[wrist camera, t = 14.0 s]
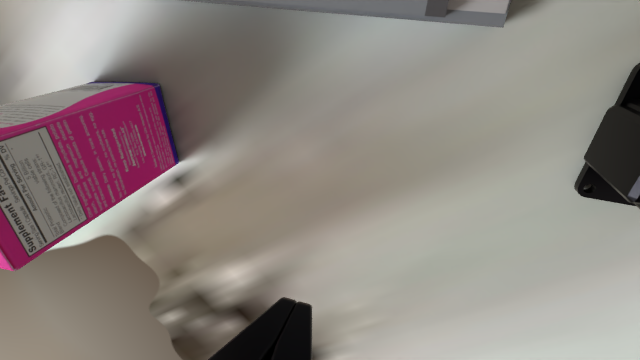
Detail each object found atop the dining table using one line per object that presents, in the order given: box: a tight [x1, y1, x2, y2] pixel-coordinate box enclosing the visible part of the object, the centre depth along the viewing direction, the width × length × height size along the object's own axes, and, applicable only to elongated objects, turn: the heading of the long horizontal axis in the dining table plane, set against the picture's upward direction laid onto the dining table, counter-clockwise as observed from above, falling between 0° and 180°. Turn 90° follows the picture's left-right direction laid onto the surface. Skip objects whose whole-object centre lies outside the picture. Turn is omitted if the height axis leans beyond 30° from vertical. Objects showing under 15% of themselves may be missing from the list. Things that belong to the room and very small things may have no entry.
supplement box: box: [0, 82, 179, 271], centre depth 18 cm, size 6×6×12 cm
